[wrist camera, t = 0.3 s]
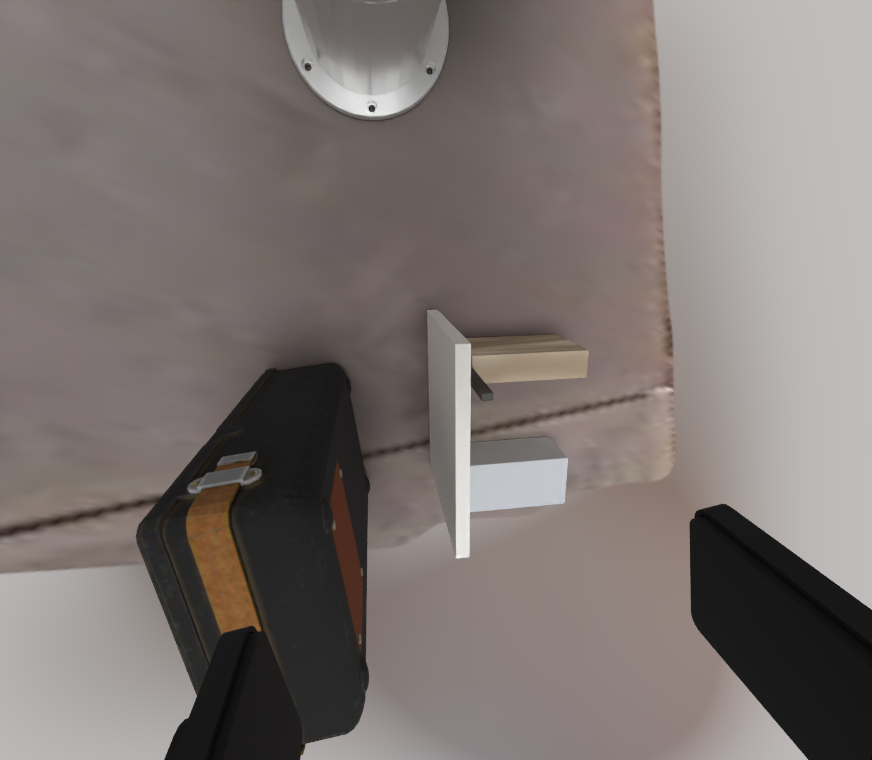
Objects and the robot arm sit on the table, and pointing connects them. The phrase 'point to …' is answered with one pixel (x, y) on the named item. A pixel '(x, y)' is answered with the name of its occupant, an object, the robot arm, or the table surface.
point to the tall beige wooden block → (524, 360)
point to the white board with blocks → (479, 446)
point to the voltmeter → (274, 543)
